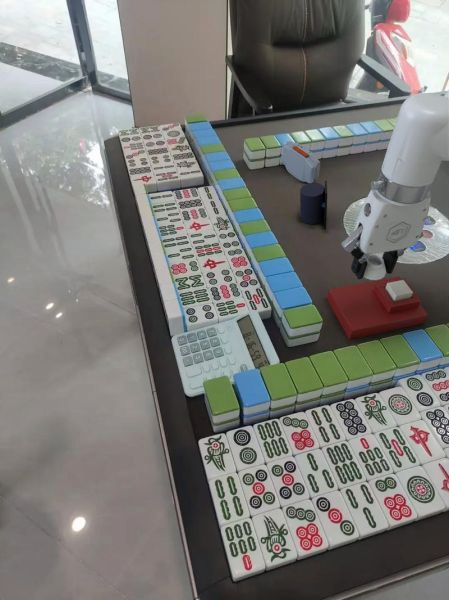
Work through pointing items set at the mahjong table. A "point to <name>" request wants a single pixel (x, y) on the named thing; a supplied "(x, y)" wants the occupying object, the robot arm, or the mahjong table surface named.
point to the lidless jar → (375, 268)
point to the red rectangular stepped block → (374, 308)
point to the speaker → (313, 203)
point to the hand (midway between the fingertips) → (371, 270)
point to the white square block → (398, 290)
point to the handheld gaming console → (300, 162)
